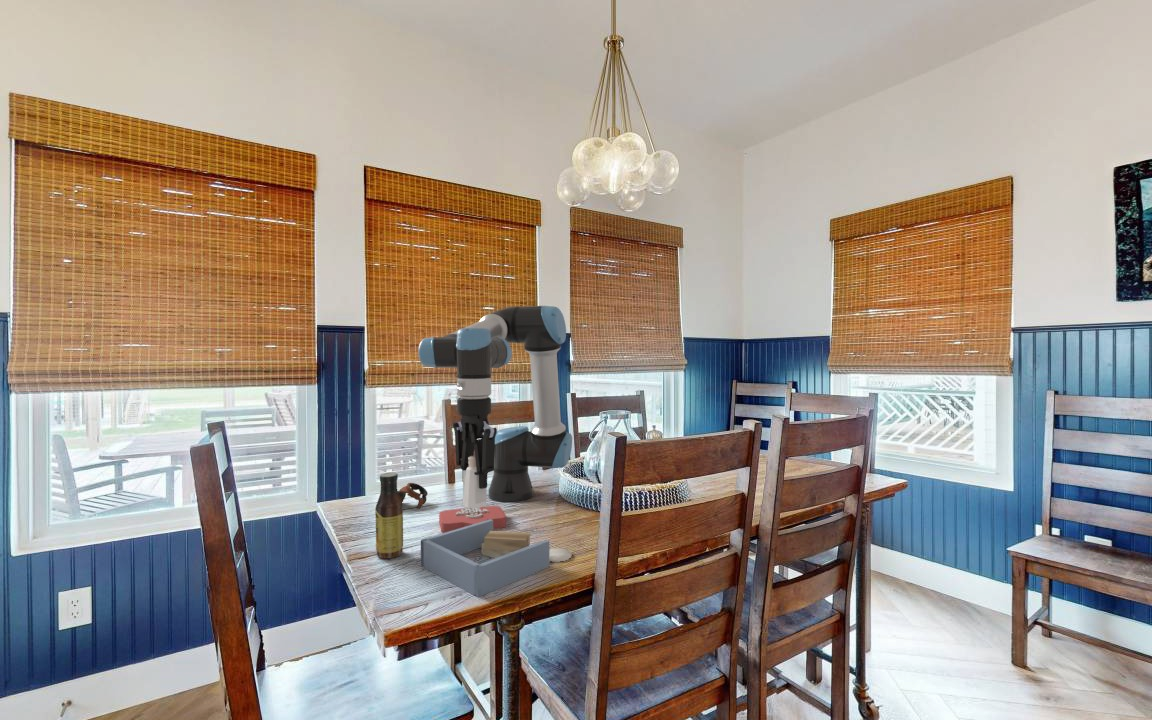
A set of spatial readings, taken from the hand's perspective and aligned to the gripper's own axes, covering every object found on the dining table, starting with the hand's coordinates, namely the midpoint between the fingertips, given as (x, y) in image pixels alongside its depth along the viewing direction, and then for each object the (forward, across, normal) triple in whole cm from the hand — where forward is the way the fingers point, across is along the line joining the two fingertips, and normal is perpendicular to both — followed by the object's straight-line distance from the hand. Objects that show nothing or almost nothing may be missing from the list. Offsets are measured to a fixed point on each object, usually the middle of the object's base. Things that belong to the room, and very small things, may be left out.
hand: (474, 499), depth 117 cm
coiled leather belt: (+17, -54, +13) cm, 58 cm away
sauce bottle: (+16, -22, -10) cm, 29 cm away
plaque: (+17, -24, +17) cm, 34 cm away
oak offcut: (+14, 0, +10) cm, 17 cm away
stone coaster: (+16, +8, +18) cm, 26 cm away
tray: (+16, 0, +3) cm, 16 cm away
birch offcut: (+17, 0, +10) cm, 19 cm away
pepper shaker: (+1, 0, 0) cm, 1 cm away
